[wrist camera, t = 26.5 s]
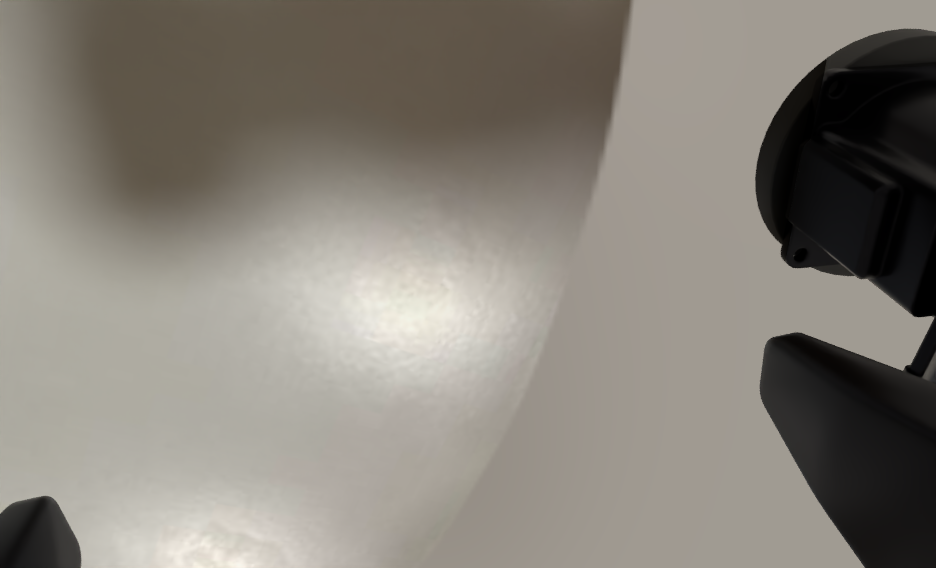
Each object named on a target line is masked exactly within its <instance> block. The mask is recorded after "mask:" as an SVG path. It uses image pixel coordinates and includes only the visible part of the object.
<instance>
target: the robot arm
mask: <svg viewBox="0 0 936 568" xmlns="http://www.w3.org/2000/svg"><path fill="white" fill-rule="evenodd" d="M837 80H838V85H837V88H836V89H835V90H834V91H833V92H832V93H829V88H830V86H831V84H832V83H833V82H835V81H837ZM785 216H786V218H787V222H786V227H785V232H784V237H783V242H782V247H781V257H782V259H783V260H784V261H785V262H786V263H787V264H788V265H789V266H791V267H792V268H807V267H818V266H829V265H840V264H841V265H843V266H844V267H845V268H846V269H848V270H849V271H850V272H851V273H852V274H854V275H855V276H856V277H857V278H859V279H868V280H869V281H871V282H872V283H873V284H874V285H876V286H877V287H878V288H879V289H881V290H882V291H883V292H884V293H886V294H887V295H888V296H889V297H890V298H892V299H893V300H894V301H896V302H897V303H898V304H899V305H900V306H902V307H903V308H904V309H905V310H907V311H908V312H909V313H910V314H912V315H913V316H914V317H926V316H933V317H934V320H933V322H932V324H931V326H930V328H929V330H928V332H927V334H926V336H925V338H924V340H923V342H922V344H921V346H920V347H919V349H918V351H917V353H916V356H915V357H914V359H913V362H912V363H911V365H907V366H905V368H904V370H903V371H901V370H899V369H896V368H893V367H891V366H888V365H885V364H883V363H880V362H877V361H875V360H872V359H869V358H867V357H864V356H861V355H859V354H856V353H853V352H851V351H848V350H845V349H843V348H840V347H837V346H835V345H832V344H829V343H827V342H824V341H821V340H818V339H816V338H813V337H811V336H808V335H805V334H802V333H790V334H786V335H781V336H776V337H773V338H771V339H769V340H768V341H767V343H766V345H765V349H764V357H763V365H762V373H761V380H760V395H761V399H762V402H763V404H764V406H765V408H766V410H767V412H768V413H769V415H770V417H771V419H772V421H773V422H774V424H775V426H776V428H777V429H778V431H779V433H780V435H781V437H782V439H783V440H784V442H785V444H786V446H787V447H788V449H789V451H790V453H791V454H792V456H793V458H794V460H795V462H796V464H797V465H798V467H799V469H800V471H801V472H802V474H803V476H804V478H805V479H806V481H807V483H808V485H809V487H810V488H811V490H812V492H813V493H814V495H815V497H816V498H817V500H818V501H819V503H820V504H821V506H822V507H823V509H824V510H825V512H826V513H827V515H828V516H829V518H830V519H831V520H832V522H833V523H834V525H835V526H836V527H837V529H838V530H839V532H840V533H841V534H842V536H843V537H844V539H845V540H846V542H847V543H848V544H849V545H850V547H851V549H852V550H853V551H854V553H855V554H856V556H857V557H858V558H859V560H860V561H861V563H862V564H863V566H864V567H865V568H936V62H930V63H914V64H897V65H881V66H865V67H848V68H833V69H829V70H826V71H825V72H823V73H822V74H821V75H820V76H819V77H818V78H817V80H816V82H815V85H814V88H813V93H812V98H811V103H810V108H809V113H808V118H807V123H806V128H805V133H804V138H803V141H802V143H801V144H800V145H799V148H798V153H797V158H796V163H795V168H794V173H793V178H792V183H791V188H790V193H789V198H788V203H787V208H786V213H785ZM801 248H802V250H801V252H800V253H799V254H798V255H796V256H794V254H795V252H796V251H797V250H798V249H801ZM0 568H81V551H80V547H79V543H78V541H77V539H76V537H75V535H74V533H73V531H72V529H71V528H70V526H69V524H68V522H67V520H66V518H65V516H64V514H63V513H62V511H61V509H60V507H59V505H58V504H57V502H56V501H55V500H54V499H53V498H52V497H49V496H41V497H36V498H32V499H27V500H23V501H18V502H15V503H13V504H11V505H9V506H8V507H7V508H6V509H5V510H4V511H3V512H2V513H1V514H0Z"/></svg>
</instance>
